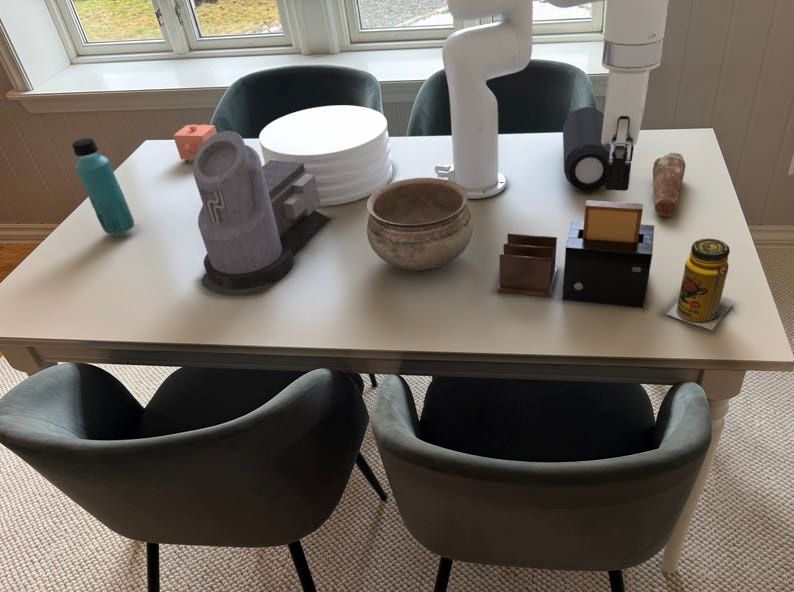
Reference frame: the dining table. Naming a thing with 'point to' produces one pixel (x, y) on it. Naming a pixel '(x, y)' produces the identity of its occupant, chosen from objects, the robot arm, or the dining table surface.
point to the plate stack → (334, 149)
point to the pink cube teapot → (192, 139)
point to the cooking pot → (419, 222)
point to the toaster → (607, 268)
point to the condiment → (703, 285)
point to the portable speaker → (585, 150)
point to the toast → (612, 221)
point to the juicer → (251, 215)
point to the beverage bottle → (102, 188)
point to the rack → (528, 265)
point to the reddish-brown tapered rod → (668, 183)
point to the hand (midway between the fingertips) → (618, 174)
